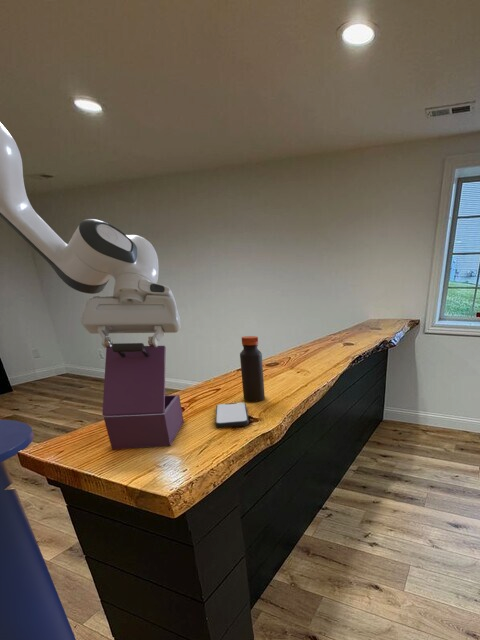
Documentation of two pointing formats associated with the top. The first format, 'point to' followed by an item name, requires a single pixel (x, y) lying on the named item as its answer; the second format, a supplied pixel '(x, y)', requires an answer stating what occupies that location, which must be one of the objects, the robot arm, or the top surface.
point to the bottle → (252, 370)
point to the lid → (134, 379)
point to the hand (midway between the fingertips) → (129, 346)
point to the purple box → (146, 427)
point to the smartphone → (231, 415)
